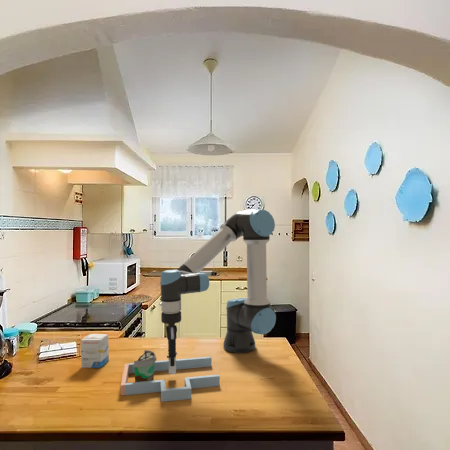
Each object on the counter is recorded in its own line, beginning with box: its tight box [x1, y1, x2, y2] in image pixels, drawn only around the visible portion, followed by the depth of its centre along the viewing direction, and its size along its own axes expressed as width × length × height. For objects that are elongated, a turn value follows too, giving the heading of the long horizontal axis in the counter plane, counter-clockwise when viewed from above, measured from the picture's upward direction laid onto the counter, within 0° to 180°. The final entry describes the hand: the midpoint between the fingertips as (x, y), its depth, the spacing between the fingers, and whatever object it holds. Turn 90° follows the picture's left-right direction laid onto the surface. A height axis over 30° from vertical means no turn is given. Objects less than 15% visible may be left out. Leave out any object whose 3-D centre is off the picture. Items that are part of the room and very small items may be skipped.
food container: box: [133, 349, 157, 382], centre depth 134 cm, size 12×6×10 cm, turn 174°
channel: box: [120, 356, 221, 403], centre depth 133 cm, size 34×28×4 cm
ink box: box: [80, 333, 110, 369], centre depth 153 cm, size 9×8×12 cm
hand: (172, 373), depth 137 cm, fingers closed
